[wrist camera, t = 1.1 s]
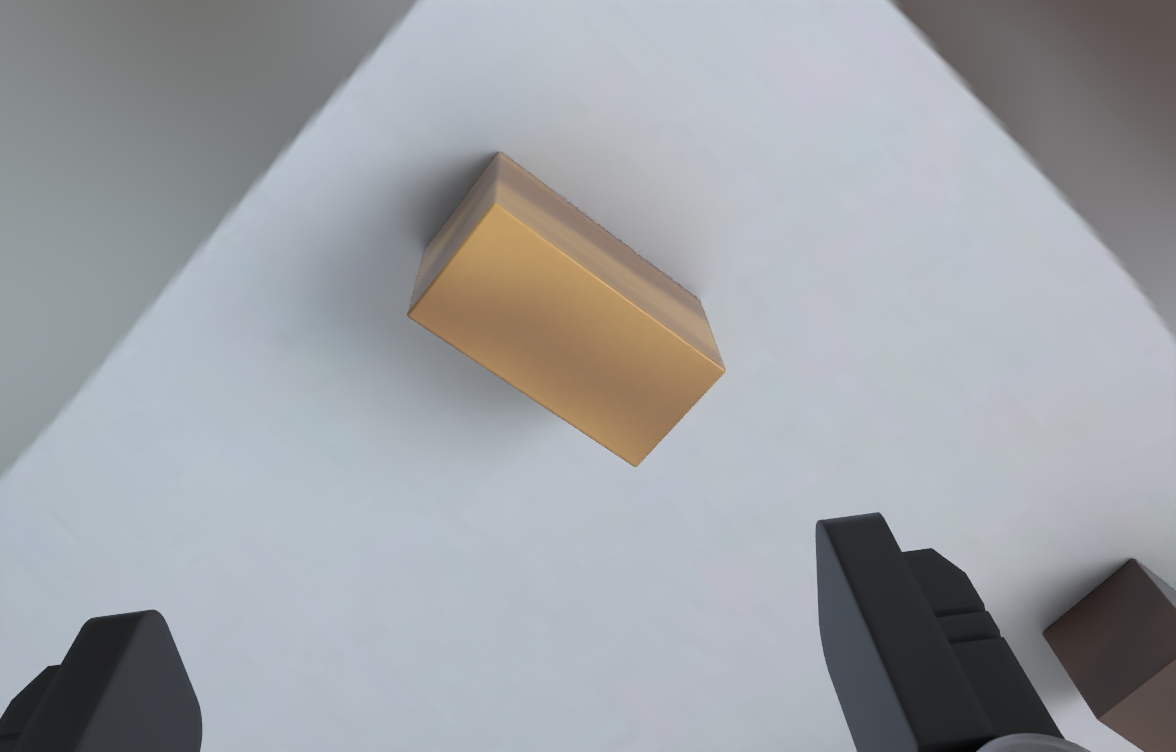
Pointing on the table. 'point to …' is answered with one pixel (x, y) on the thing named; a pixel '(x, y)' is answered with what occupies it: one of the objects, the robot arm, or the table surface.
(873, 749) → the robot arm
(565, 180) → the table surface
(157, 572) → the table surface
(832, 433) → the table surface
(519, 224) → the honey block
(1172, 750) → the walnut block
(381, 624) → the table surface
